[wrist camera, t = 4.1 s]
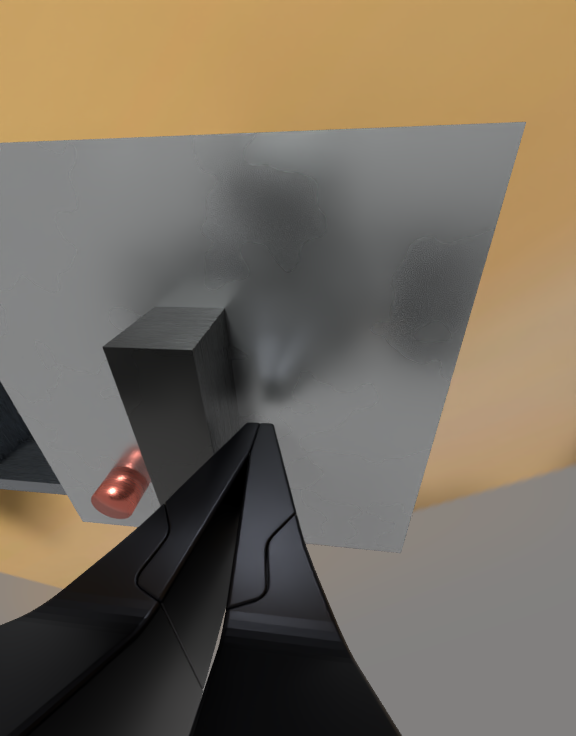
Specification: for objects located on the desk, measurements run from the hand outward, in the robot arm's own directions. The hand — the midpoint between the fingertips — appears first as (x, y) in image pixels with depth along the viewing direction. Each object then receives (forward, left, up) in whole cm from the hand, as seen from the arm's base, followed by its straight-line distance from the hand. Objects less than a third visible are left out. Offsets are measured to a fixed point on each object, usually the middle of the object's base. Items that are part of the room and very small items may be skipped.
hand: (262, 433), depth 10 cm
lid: (+2, 0, -2) cm, 3 cm away
